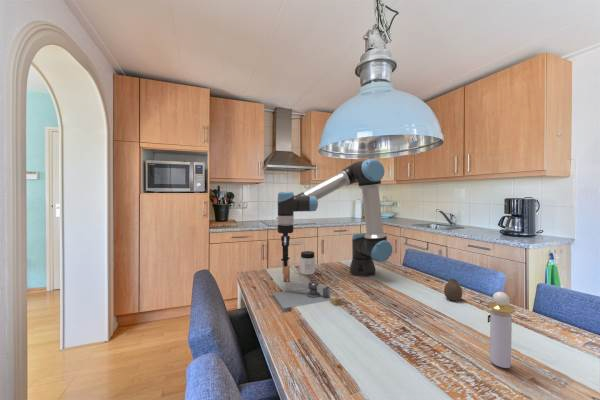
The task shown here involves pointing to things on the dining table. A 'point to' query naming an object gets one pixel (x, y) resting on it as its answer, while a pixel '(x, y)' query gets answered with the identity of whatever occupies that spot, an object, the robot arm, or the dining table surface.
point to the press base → (299, 298)
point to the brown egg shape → (453, 290)
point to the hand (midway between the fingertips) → (285, 273)
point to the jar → (307, 263)
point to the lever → (302, 284)
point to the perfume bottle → (500, 330)
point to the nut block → (336, 300)
